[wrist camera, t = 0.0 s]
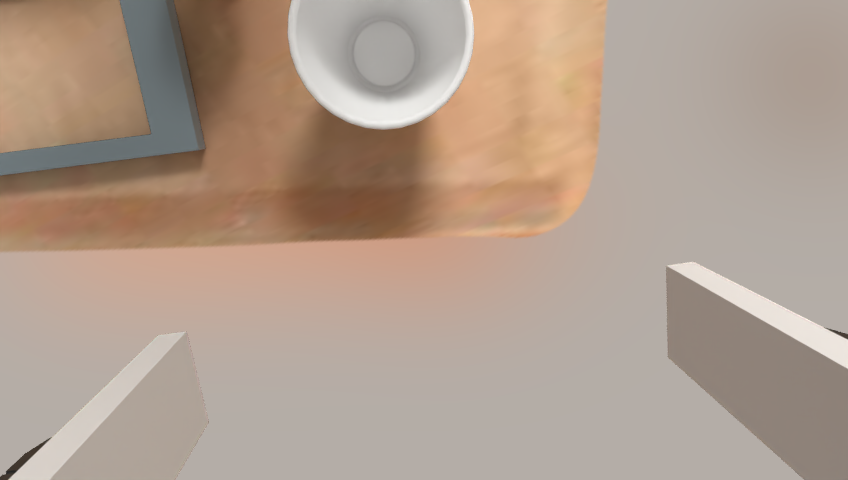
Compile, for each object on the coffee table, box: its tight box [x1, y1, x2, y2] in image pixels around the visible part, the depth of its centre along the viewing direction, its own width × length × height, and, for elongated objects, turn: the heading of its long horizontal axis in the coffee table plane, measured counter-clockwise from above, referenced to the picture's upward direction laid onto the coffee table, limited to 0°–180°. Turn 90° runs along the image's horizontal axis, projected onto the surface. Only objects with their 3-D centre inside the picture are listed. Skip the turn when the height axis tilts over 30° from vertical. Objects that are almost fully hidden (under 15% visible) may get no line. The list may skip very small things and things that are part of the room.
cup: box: [288, 0, 474, 130], centre depth 34 cm, size 10×10×11 cm
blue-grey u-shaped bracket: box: [0, 0, 206, 175], centre depth 38 cm, size 18×14×2 cm
